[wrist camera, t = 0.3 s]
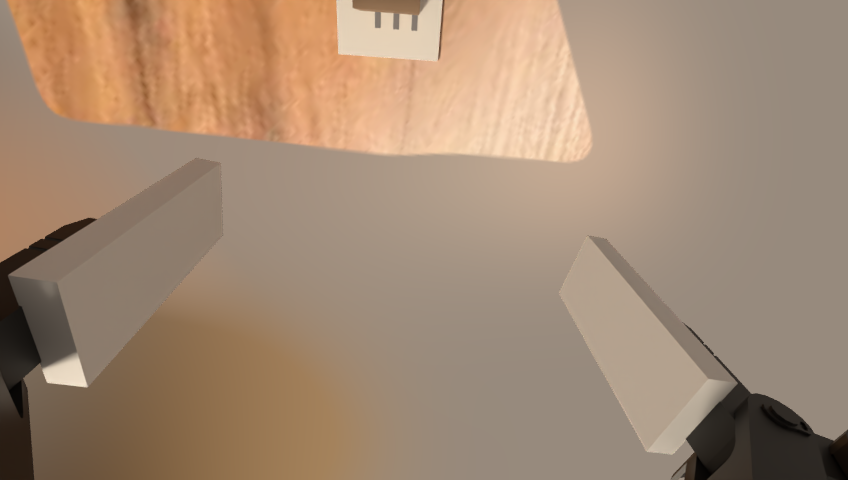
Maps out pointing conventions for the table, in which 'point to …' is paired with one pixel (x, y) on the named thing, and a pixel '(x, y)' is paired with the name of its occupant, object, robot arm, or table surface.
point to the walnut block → (388, 6)
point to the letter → (390, 32)
